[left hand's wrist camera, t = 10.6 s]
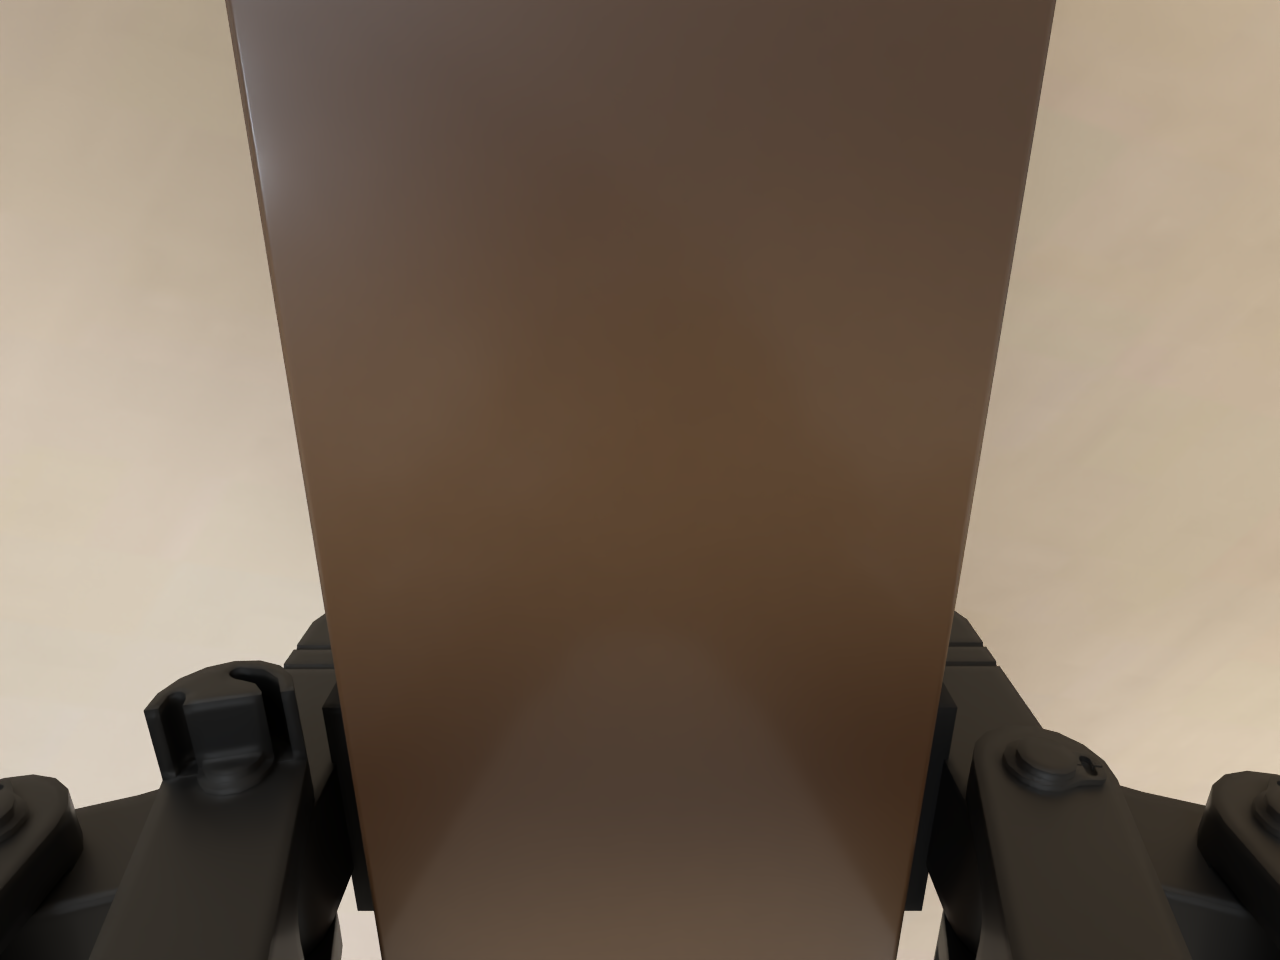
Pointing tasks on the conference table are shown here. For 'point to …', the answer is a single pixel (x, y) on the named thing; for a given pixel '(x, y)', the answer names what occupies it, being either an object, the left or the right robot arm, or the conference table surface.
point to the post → (639, 442)
